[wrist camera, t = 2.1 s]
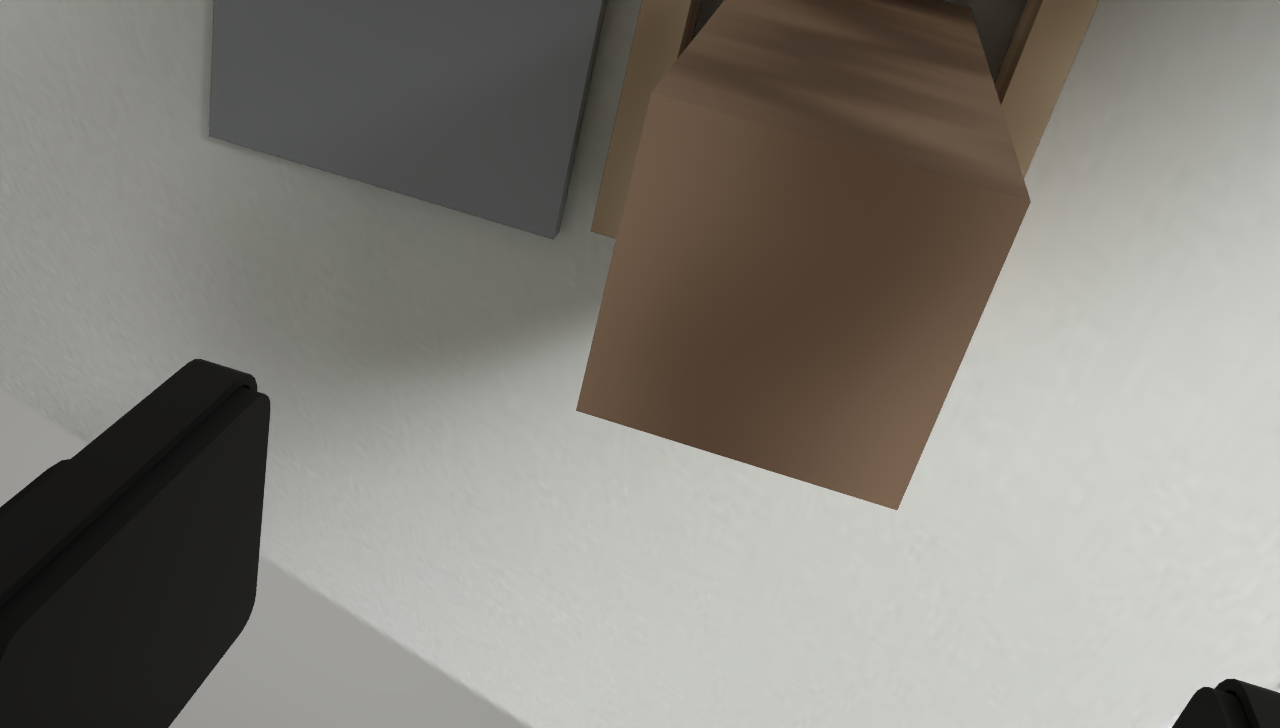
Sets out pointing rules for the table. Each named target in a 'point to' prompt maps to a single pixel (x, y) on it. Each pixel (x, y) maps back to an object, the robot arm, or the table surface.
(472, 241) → the table surface
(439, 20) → the mat
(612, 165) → the pocket
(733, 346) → the walnut block
